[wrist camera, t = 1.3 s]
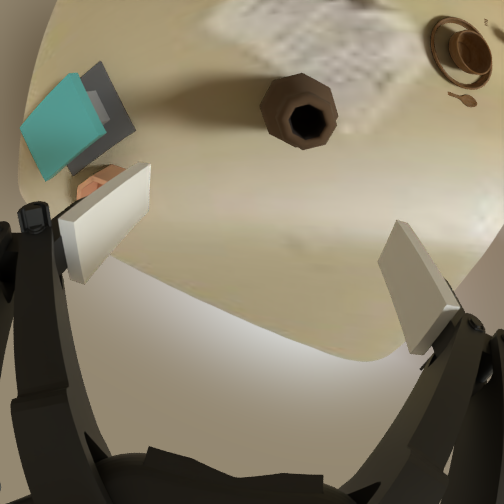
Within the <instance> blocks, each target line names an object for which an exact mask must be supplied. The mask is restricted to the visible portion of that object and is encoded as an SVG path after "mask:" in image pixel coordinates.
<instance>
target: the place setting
mask: <svg viewBox="0 0 504 504" xmlns="http://www.w3.org/2000/svg"><path fill="white" fill-rule="evenodd" d="M485 20H486V19H485ZM487 21H488V20H487ZM487 21H485V22H487ZM485 22H484V23H485ZM445 23H456V24H459V25H461V26H463V27H465V28H466V29H468V30H463V31H459V32H456V33H455V34H453V35H452V36H451V38H450V40H449V52H450V55H451V57H452V59H453V61H454V63H455V64H456V65H457V66H458V67H459V68H460V69H461V70H463V71H464V72H466V73H469V74H476V75H482V77H481V78H480V79H479V80H478V81H477V82H475V83H473V84H462V83H459V82H457V81H455V80H454V79H452V78H451V77H450V76H449V75H448V74H447V73H446V72H445V70H444V69H443V67H442V66H441V64H440V62H439V60H438V57H437V55H436V51H435V46H434V36H435V32H436V30H437V29H438V28H439V27H440V26H441V25H443V24H445ZM486 24H487V23H486ZM484 25H485V24H484ZM486 26H487V25H486ZM431 49H432V53H433V56H434V59H435V61H436V63H437V65H438V67H439V68H440V70H441V71H442V73H443V74H444V75H445V76H446V77H447V78H448V79H449V80H450V81H451V82H453V83H454V84H456V85H457V86H459V87H462V88H465V89H470V90H475V89H479V88H481V87H483V86H484V85H485V84H486V83H487V82H488V80H489V79H490V76H491V72H492V55H491V51H490V49H489V46H488V45H487V43H486V41H485V40H484V38H483V37H482V35H481V34H480V33H479V31H478V30H477V29H476V28H475V27H473V26H472V25H471V24H469V23H468V22H466V21H464V20H462V19H459V18H455V17H448V18H444V19H442V20H440V21H439V22H438V23H437V24H436V25H435V26H434V28H433V30H432V34H431ZM448 95H450V96H453V97H456V98H458V99H460V100H461V101H462V102H463V103H464V104H465V105H467V106H468V107H475V106H477V102H476V100H475V99H474V98H473V97H472V96H470V95H463V96H459V95H456V94H453V93H451V92H448Z"/></svg>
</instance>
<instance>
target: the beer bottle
mask: <svg viewBox="0 0 504 504" xmlns="http://www.w3.org/2000/svg"><path fill="white" fill-rule="evenodd" d="M260 109H261V112H262V115H263V118H264V120H265V123H266V126H267V129H268V132H269V134H271V135H273V136H275V137H277V138H278V139H280V140H282V141H284V142H286V143H288V144H290V145H292V146H294V147H298V148H300V149H302V150H305V149H309V148H313V147H317V146H322V145H326V143H327V141H328V140H329V138H330V136H331V135H332V133H333V131H334V130H335V128H336V126H337V123H336V119H337V118H338V113H337V110H336V106H335V103H334V99H333V96H332V93H331V90H330V88H329V87H327V86H326V85H324V84H322V83H320V82H318V81H317V80H315V79H313V78H311V77H309V76H307V75H305V74H304V73H300V74H296V75H292V76H288V77H284V78H281V79H277V80H274V81H273V82H272V84H271V85H270V87H269V89H268V91H267V93H266V95H265V97H264V98H263V100H262V102H261V104H260Z"/></svg>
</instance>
